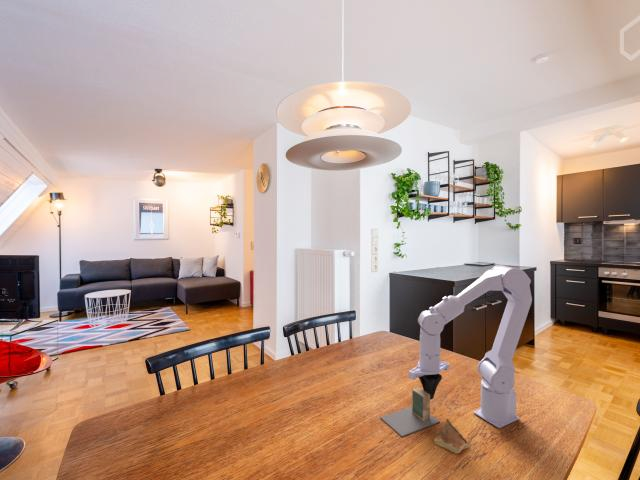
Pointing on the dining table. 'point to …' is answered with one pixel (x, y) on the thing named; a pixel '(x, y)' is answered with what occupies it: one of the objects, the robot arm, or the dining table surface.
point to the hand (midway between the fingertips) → (429, 397)
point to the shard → (450, 438)
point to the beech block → (421, 404)
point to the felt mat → (407, 421)
